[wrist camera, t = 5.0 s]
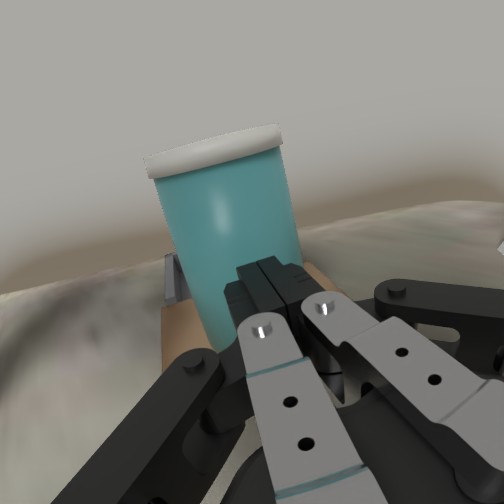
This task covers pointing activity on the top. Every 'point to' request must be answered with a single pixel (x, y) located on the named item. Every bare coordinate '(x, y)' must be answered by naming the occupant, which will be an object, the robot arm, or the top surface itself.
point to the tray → (175, 281)
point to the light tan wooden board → (190, 326)
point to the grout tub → (225, 214)
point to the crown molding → (501, 248)
